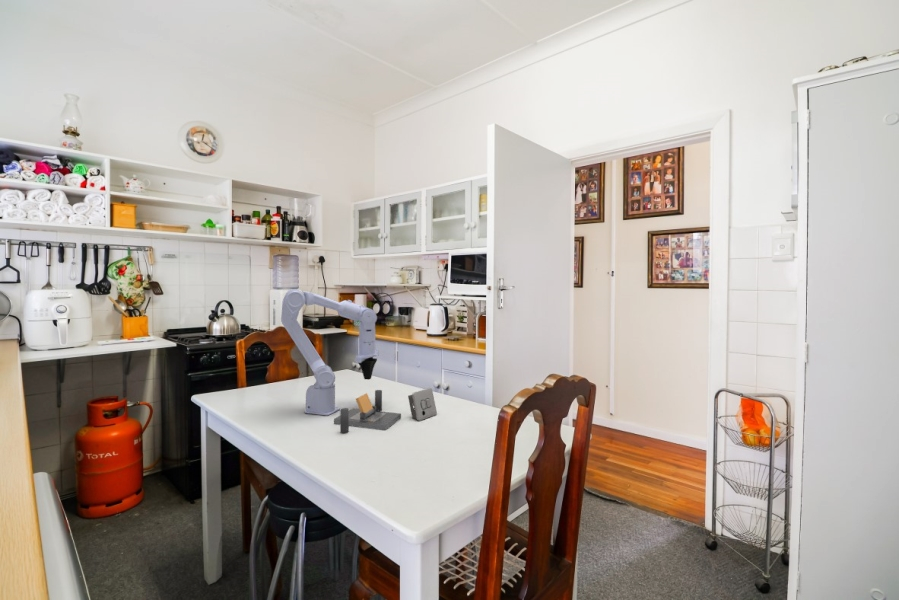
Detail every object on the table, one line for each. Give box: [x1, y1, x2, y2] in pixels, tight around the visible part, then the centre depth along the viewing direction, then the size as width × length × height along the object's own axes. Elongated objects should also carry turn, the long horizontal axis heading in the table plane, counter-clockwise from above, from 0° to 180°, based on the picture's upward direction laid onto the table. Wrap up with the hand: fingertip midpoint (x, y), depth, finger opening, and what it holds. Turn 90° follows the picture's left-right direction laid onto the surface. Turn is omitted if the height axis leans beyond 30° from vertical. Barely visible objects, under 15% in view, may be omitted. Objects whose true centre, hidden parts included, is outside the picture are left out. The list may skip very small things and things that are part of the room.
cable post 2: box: [374, 389, 383, 412], centre depth 153 cm, size 2×2×7 cm
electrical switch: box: [407, 387, 438, 422], centre depth 147 cm, size 9×5×9 cm, turn 141°
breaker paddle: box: [355, 392, 375, 417], centre depth 142 cm, size 2×6×7 cm, turn 163°
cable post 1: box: [339, 407, 350, 435], centre depth 131 cm, size 2×2×7 cm
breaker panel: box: [333, 405, 402, 431], centre depth 141 cm, size 18×12×4 cm, turn 73°
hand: (367, 379), depth 156 cm, fingers closed
